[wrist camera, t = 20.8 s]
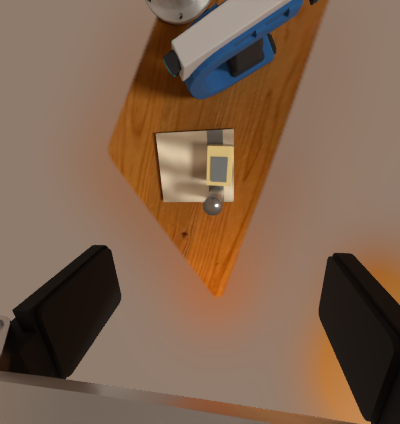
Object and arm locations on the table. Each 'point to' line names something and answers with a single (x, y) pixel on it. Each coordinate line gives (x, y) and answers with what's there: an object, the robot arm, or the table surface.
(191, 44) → the handheld scanner
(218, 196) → the steel pin
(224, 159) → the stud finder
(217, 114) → the table surface
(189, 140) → the white square mat
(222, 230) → the table surface
